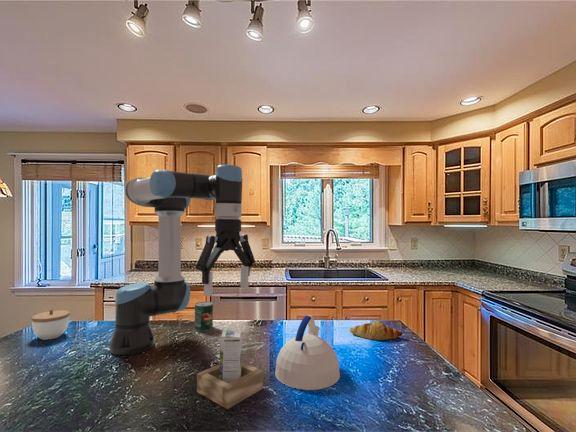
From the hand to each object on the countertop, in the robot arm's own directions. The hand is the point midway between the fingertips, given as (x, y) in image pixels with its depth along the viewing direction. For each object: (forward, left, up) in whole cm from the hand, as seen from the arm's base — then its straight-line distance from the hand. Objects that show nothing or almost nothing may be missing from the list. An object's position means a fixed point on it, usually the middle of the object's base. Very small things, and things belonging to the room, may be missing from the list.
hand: (227, 291), depth 93 cm
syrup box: (+3, -1, -26) cm, 26 cm away
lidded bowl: (-86, -20, -27) cm, 93 cm away
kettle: (+14, +21, -28) cm, 37 cm away
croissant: (+17, +65, -28) cm, 73 cm away
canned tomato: (-46, +26, -27) cm, 59 cm away
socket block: (+3, -1, -27) cm, 27 cm away
